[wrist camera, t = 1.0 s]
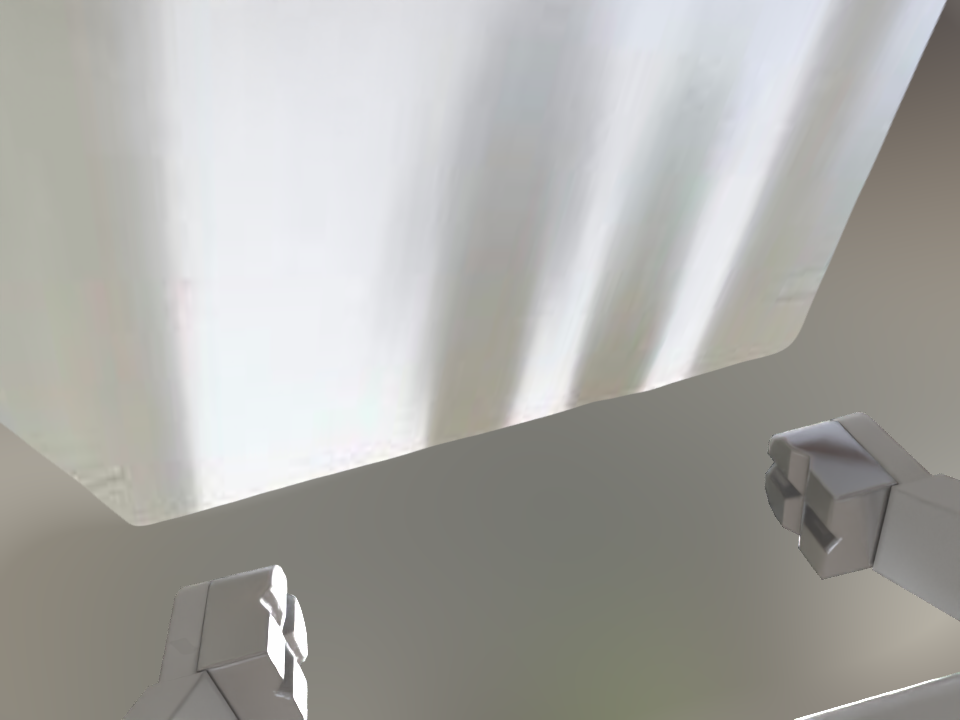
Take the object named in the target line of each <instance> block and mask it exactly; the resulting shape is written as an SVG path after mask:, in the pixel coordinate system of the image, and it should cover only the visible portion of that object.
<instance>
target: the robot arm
mask: <svg viewBox="0 0 960 720" xmlns="http://www.w3.org/2000/svg"><path fill="white" fill-rule="evenodd" d="M768 455H769V456H770V457H771V458H772V460H773V461H774V463H773V464H772V466H771V467H770V468H769V470H768V471H767V472H766V476H765V490H766V494H767V498H768V502H769V505H770V507H771V509H772V511H773V513H774V515H775V517H776V518H777V520H778V521H779V522H780V524H781V525H782V527H783V528H785V529H787V530H790V531H792V532H794V533H796V534H798V535H800V537H799V546H798V548H799V550H800V551H801V552H802V554H803V555H804V557H805V558H806V559H807V561H808V562H809V563H810V565H811V566H812V567H813V569H814V570H815V571H816V573H817V574H818V575H819V577H820V578H821V579H822V580H823V579H827V578H831V577H835V576H839V575H843V574H847V573H851V572H855V571H859V570H863V569H867V568H871V567H873V570H874V571H875V572H877V573H878V574H880V575H882V576H884V577H885V578H887V579H889V580H890V581H892V582H894V583H896V584H897V585H899V586H901V587H902V588H904V589H906V590H907V591H909V592H911V593H913V594H914V595H916V596H918V597H919V598H921V599H923V600H924V601H926V602H928V603H930V604H931V605H933V606H935V607H936V608H938V609H940V610H941V611H943V612H945V613H947V614H948V615H950V616H952V617H953V618H955V619H957V620H958V621H960V480H958V479H955V478H952V477H950V476H947V475H944V474H937V475H931V474H930V473H929V472H928V471H927V470H926V469H925V468H924V467H923V466H922V465H921V464H919V463H918V462H917V461H916V460H915V459H914V458H913V457H912V456H911V455H910V454H909V453H908V452H907V451H906V450H905V449H904V448H902V446H900V445H899V444H898V443H897V442H896V441H895V440H894V439H893V438H892V437H891V436H890V435H889V434H888V433H887V432H886V431H884V430H883V429H882V428H881V427H880V426H879V425H878V424H877V423H876V422H875V421H874V420H873V419H872V418H871V417H870V416H869V415H867V414H864V413H862V412H857V413H853V414H849V415H846V416H842V417H838V418H834V419H831V420H829V421H823V422H819V423H815V424H812V425H808V426H804V427H801V428H797V429H793V430H789V431H786V432H782V433H779V434H775V435H772V437H771V439H770V440H769V444H768ZM286 586H287V579H286V577H285V575H284V573H283V571H282V569H281V567H280V566H279V565H273V566H269V567H264V568H260V569H256V570H252V571H247V572H244V573H239V574H235V575H230V576H226V577H222V578H218V579H213V580H211V581H207V582H203V583H199V584H194V585H190V586H186V587H182V588H180V589H179V591H178V593H177V594H176V596H175V598H174V604H173V608H172V614H171V619H170V624H169V629H168V635H167V640H166V645H165V651H164V655H163V661H162V666H161V671H160V676H159V682H158V683H157V684H154V685H150V686H148V687H147V688H146V690H145V691H144V692H143V693H142V695H141V696H140V697H139V699H138V700H137V701H136V702H135V704H134V705H133V706H132V708H131V709H130V710H129V711H128V713H127V714H126V715H125V716H124V718H123V719H122V720H307V717H306V716H307V681H306V679H305V677H304V675H303V673H302V671H301V669H300V666H301V664H302V663H303V661H304V660H305V658H306V657H307V637H306V631H305V624H304V619H303V616H302V612H301V609H300V606H299V604H298V602H297V600H296V597H294V596H292V595H290V594H288V593H286ZM796 720H960V672H958V673H955V674H952V675H948V676H945V677H941V678H938V679H934V680H931V681H927V682H924V683H920V684H917V685H913V686H910V687H907V688H903V689H900V690H896V691H893V692H889V693H886V694H883V695H879V696H875V697H872V698H869V699H865V700H862V701H858V702H855V703H851V704H848V705H844V706H841V707H837V708H834V709H831V710H827V711H824V712H820V713H817V714H813V715H810V716H806V717H803V718H799V719H796Z"/></svg>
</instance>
